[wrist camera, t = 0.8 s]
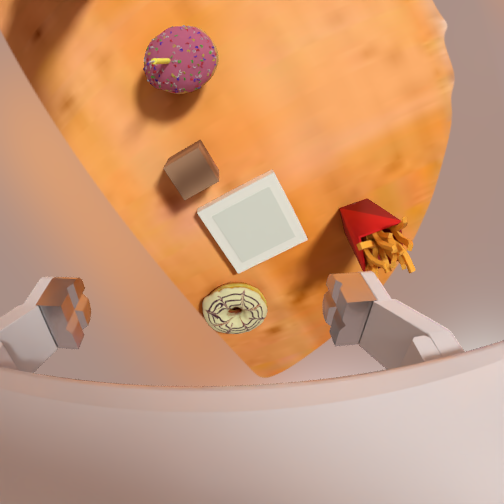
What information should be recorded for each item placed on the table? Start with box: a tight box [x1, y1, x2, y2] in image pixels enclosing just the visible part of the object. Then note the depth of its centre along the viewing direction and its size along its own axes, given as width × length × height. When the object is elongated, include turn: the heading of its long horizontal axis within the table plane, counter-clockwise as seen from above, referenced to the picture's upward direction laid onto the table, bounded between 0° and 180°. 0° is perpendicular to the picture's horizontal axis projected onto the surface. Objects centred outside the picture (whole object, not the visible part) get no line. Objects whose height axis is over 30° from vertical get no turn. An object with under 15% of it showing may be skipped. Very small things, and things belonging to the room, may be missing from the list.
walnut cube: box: [163, 140, 219, 200], centre depth 40 cm, size 5×5×5 cm
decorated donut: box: [203, 282, 267, 334], centre depth 54 cm, size 10×11×4 cm
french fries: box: [340, 199, 415, 278], centre depth 42 cm, size 9×8×15 cm
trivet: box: [197, 169, 308, 274], centre depth 47 cm, size 12×12×2 cm
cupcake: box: [143, 25, 218, 94], centre depth 30 cm, size 9×8×12 cm
